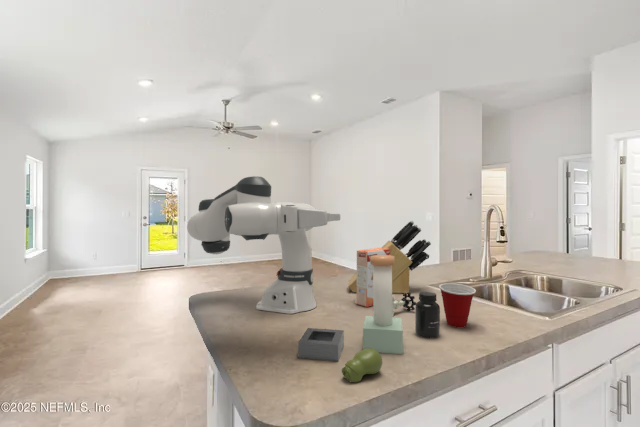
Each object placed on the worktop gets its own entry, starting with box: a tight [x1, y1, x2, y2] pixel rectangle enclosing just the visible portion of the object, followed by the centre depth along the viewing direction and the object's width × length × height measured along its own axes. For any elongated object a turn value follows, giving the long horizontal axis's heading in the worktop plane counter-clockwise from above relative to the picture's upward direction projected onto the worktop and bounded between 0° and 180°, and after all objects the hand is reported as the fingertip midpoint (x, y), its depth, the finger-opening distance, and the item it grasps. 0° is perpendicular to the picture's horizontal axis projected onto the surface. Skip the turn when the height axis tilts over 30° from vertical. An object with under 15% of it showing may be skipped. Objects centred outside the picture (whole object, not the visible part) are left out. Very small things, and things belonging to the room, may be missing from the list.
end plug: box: [370, 255, 394, 326], centre depth 92 cm, size 6×6×18 cm
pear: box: [341, 348, 383, 383], centre depth 76 cm, size 6×5×10 cm
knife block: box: [348, 220, 432, 294], centre depth 150 cm, size 11×35×31 cm, turn 85°
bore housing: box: [297, 327, 345, 362], centre depth 89 cm, size 10×10×4 cm
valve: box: [392, 292, 417, 317], centre depth 119 cm, size 7×7×12 cm
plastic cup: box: [438, 282, 477, 329], centre depth 107 cm, size 11×11×12 cm
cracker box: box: [356, 247, 390, 308], centre depth 132 cm, size 14×6×21 cm, turn 131°
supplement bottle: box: [414, 291, 441, 339], centre depth 99 cm, size 7×7×12 cm
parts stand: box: [362, 315, 404, 355], centre depth 92 cm, size 10×10×6 cm
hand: (334, 216), depth 96 cm, fingers open, 8 cm apart
